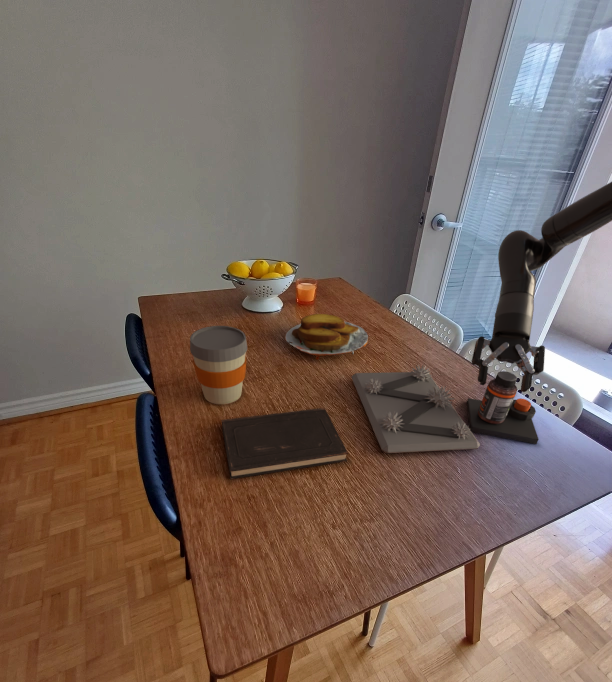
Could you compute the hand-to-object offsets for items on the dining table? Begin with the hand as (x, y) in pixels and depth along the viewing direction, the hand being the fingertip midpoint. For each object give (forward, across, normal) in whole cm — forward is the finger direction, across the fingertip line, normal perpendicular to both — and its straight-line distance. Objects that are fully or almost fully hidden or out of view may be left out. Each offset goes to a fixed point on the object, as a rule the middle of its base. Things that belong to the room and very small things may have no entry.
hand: (503, 387), depth 86 cm
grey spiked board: (+8, -18, +6) cm, 21 cm away
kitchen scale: (+6, +2, +8) cm, 10 cm away
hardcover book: (+22, -44, -8) cm, 50 cm away
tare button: (+2, +7, +9) cm, 11 cm away
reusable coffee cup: (+13, -62, +1) cm, 64 cm away
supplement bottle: (+6, 0, +7) cm, 9 cm away
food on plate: (-12, -44, +27) cm, 53 cm away
